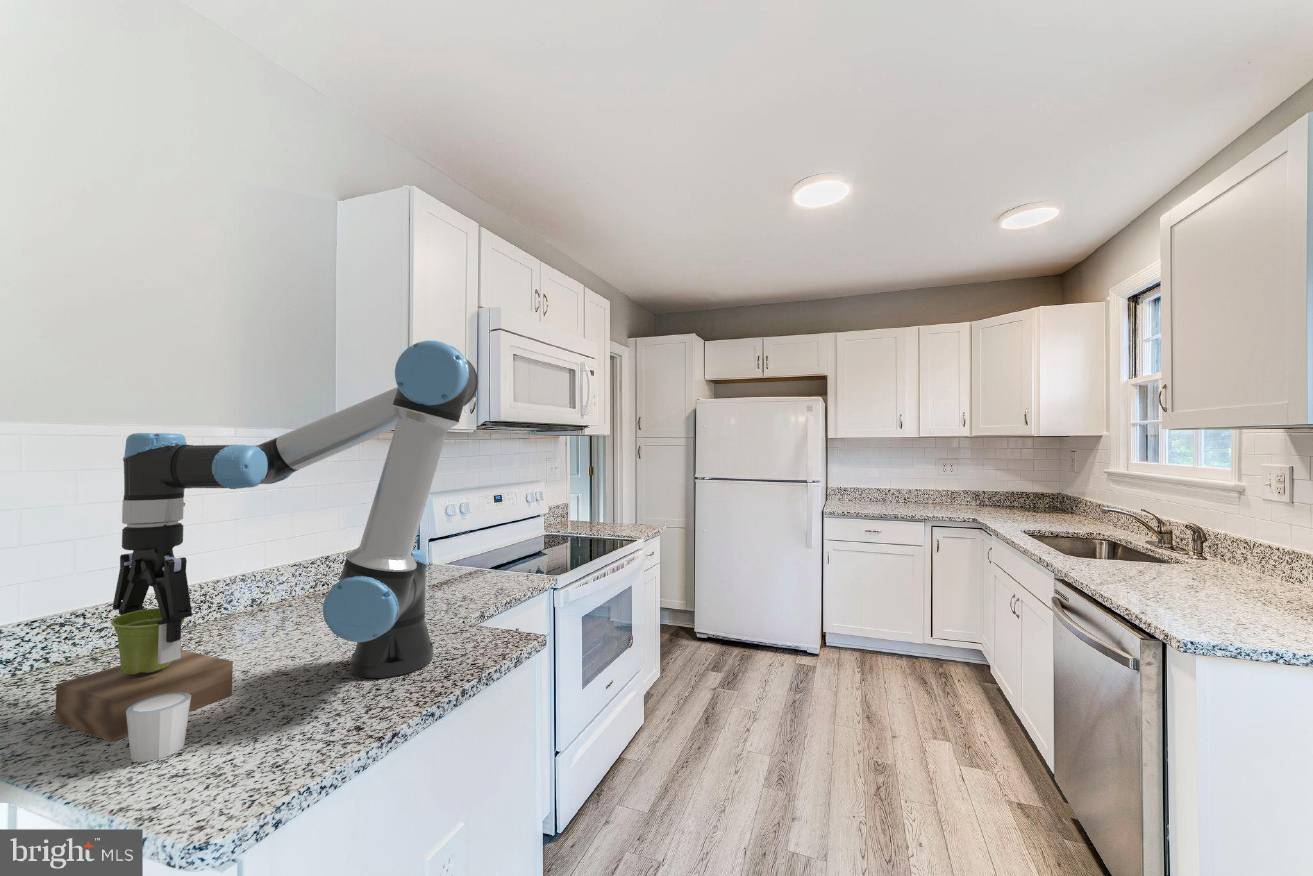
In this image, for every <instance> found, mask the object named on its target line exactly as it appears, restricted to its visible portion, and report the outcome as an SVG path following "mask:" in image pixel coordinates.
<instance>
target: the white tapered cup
mask: <svg viewBox="0 0 1313 876" xmlns="http://www.w3.org/2000/svg"><path fill="white" fill-rule="evenodd" d="M190 701H191V695H190V694H189V693H185V692H176V693H167V694H162V695H157V696H154V697H150V698H147V699H144V700H142V701H139V702H137V703H135V704H133V705H132V706H130V707H129V708H128V709H127V710H126V716H127V726H128V736H127V737H128V743H129V755H130V760H131V759H132V760H133V761H137V762H136V763H143V762H142V761H149V762H151V761H150V760H153V761H157V760H160V759H159V758H161V759H163V758H166V757H169V756H171V755H173V754H175V753H177V752H178V751H180V750H181V749H182V748H184V745H185V742H186V736H187V729H188V728H187V727H188V722H189V721H188V720H189V715H190V712H189V708H190ZM156 759H157V760H156ZM132 760H131V761H132ZM133 761H132V762H133Z"/></svg>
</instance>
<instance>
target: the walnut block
mask: <svg viewBox="0 0 1313 876" xmlns="http://www.w3.org/2000/svg"><path fill="white" fill-rule="evenodd" d="M233 664H234V661H232V660H228V659H224V658H220V657H215V656H212V655H211V656H210V655H206V654H201V653H197V652H192V651H189V650H183V649H181V658H179V659H176V660H173V661H171V663H170V664H169V665H168V666H167V667H165V668H163V669H160V670H157V671H154V672H149V673H146V672H139V673H137V674H133V675H132V674H125V673H123V672H122V671H121V664H120V665H117V666H114V667H111V668H107V669H104V670H103V669H102V670H100V671H97V672H93V673H91V674H90V673H89V674H87V675H83V676H79V677H77V678H74V679H73V678H72V679H70V680H66V681H63V682H59V683H56V686H55V689H56V690H55V717H54V723H57V724H60V725H62V726H64V727H65V726H66V727H68V728H71V729H74V730H77V731H79V732H82V733H86V734H88V735H92V736H95V737H97V736H98V737H97V738H101V739H103V738H105V739H104V740H106V739H107V741H109V740H110V741H109V742H112V743H115V742H117V741H119V739H120V740H121V738H122V739H124V738H127V737H129V736H128V726H127V716H126V710H127V709H128V708H129V707H130V706H132V705H133V704H135V703H137V702H139V701H142V700H144V699H147V698H150V697H154V696H157V695H162V694H167V693H176V692H185V693H189V694H190V695H191V701H190V708H189V713H191V712H193V711H195V710H199V709H200V708H204V707H206V706H208V704H209V705H210V704H213V703H216V702H219V701H221V700H223V699H226V698H225V697H227V698H228V697H229V698H230V697H231V695H232V696H233V672H234V671H233V669H234V667H233V666H234V665H233ZM220 699H221V700H220ZM218 700H219V701H218ZM114 741H115V742H114Z"/></svg>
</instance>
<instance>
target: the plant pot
mask: <svg viewBox="0 0 1313 876" xmlns="http://www.w3.org/2000/svg"><path fill="white" fill-rule="evenodd" d="M161 620H163V619H162V616H161V613H160V609H159V607H154V608H147V609H145V610H139V611H134V612H130V613H126V614H123V615H120V614H119V615H118V616H116V617H114V618H113V619H112V620H111V622H110V624H111V626H112V627H113V628H114V630H115V631H114V632H115V633H116V635H117V641H118V642H117V643H118V650H119V651H118V653H119V662H120V663H119V664H120V665H121V671H122V672H123V673H125V674H132V675H133V674H137V673H139V672H146V673H149V672H154V671H157V670H160V669H163V668H165V667H167V666H168V665H169V664H170V663H171V661H170V662H166V663H163V664H158V639H159V625H158V622H159V621H161ZM184 621H185V618H184V619H182V621H181V626H182V625H183V624H184V623H185V622H184Z"/></svg>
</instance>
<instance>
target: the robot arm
mask: <svg viewBox="0 0 1313 876" xmlns="http://www.w3.org/2000/svg"><path fill="white" fill-rule="evenodd" d="M394 379H395V383H396V387H394V388H392V389H389V390H387V391H384V392H383V393H380V394H378V395H377V394H376V395H375V396H373V397H370V398H368V399H365V400H363V401H361V402H358V403H356V404H353V405H352V406H348V407H346V408H344V409H341V410H339V411H337V412H334V413H332V414H329V415H327V416H324V417H322V418H319V419H318V420H315V421H312V422H310V423H308V424H306V425H303V426H301V427H298V428H296V429H294V430H291V431H289V432H286V433H283V434H282V435H279V436H278V437H274V438H272V439H270V440H268V441H265V442H262V443H260V444H256V445H246V444H209V445H207V444H203V445H202V444H201V445H200V444H198V445H194V444H187V439H186V437H185V435H184V434H182V433H170V432H168V433H166V432H165V433H164V432H159V433H157V432H135V433H131V434H130V435H128V436H127V437H126V439H125V448H124V456H123V458H122V461H123V482H124V483H123V484H124V485H123V486H124V491H123V492H124V494H123V499H122V505H121V506H122V509H121V510H122V511H121V523H122V524H123V525H126V526H125V527H123V528H122V530H121V548H122V549H123V550H126V551H132V552H131V553H125V554H124V553H122V554H121V555H120V556H119V571H118V572H119V573H118V577H117V582H116V587H115V593H114V598H113V603H112V610H113V611H118V614H119V616H120V615H123V614H126V613H130V612H134V611H139V610H145V609H146V607H145V605H143V604H144V601H145V599H146V596H147V594H148V591H149V589H150V587H152V590H153V591H154V592H153V593H154V596H155V599H156V603H157V606H158V608H159V609H160V613H161V616H162V619H163V620H161V621H159V622H158V625H159V639H158V664H163V663H166V662H170V661H173V660H176V659H179V658H181V650H182V625H181V621H182V619H184V620H185V619H186V618H188V617H192V614H193V612H192V605H191V599H190V598H191V597H190V591H189V585H188V584H189V583H188V578H187V563H188V561H187V558H186V556H184V557H179V558H177V557H175V555H174V548H175V547H177V546H181V545H182V543H183V542H184V524H182V523H181V522H179V521H182V520H184V507H185V506H186V502H184V501H185V500H184V499H185V498H184V497H185V490H186V489H230V490H237V489H245V488H248V489H249V488H250V489H251V488H255V487H258V486H259V485H270V484H271V485H272V484H276V483H279V482H282V481H284V480H286V479H288V478H289V477H290V476H291V475H292V474H294V473H295V472H298V471H300V470H301V469H304V468H306V467H309V466H312V465H313V464H315V463H318V462H321V461H322V460H325V459H327V458H330V457H332V456H334V455H337V454H340V453H341V452H344V451H346V450H348V449H350V448H353V447H356V446H358V445H360V444H363V443H366V442H367V441H370V440H372V439H374V438H376V437H379V436H381V435H383V434H386V433H388V432H391V431H393V430H394V431H393V434H392V438H391V441H390V443H389V444H390V445H389V446H388V447H389V448H388V450H387V451H388V452H387V454H386V458H385V461H384V465H383V467H382V471H381V475H380V478H379V481H378V483H377V487H376V490H375V491H376V492H375V494H374V497H373V500H372V504H371V507H370V509H369V510H370V511H369V514H368V517H367V521H366V524H365V527H364V531H363V533H362V534H363V535H362V537H361V540H360V543H359V546H358V547H357V548H355V549H353V550H351V551H350V552H348V553H347V554H346V557H345V561H344V564H343V567H342V571H341V573H340V576H339V580H338V582H336V583H335V584H333V586H332V587H331V589H329V591H328V592H327V594H326V596H325V597H324V600H323V604H322V616H323V619H324V622H325V625H326V626H327V627H328V628H329V630H331V633H332V634H334V635H335V636H337V637H338V638H340V639H342V640H345V641H348V642H352V643H353V642H354V643H356V644H355V645H356V646H355V650H354V651H353V653H352V656H350V657H351V658H350V672H351V674H352V675H354V676H357V677H360V678H366V679H381V678H382V679H383V678H390V677H396V676H401V675H405V674H408V673H409V674H410V673H412V672H414V671H418V670H420V669H422V668H424V667H426V666H427V665H429V664H430V663H431V662H432V661H433V659H434V644H433V642H432V641H431V637H430V634H429V630H428V627H427V624H426V617H425V615H426V579H427V578H426V575H427V570H426V568H427V561H426V554H425V552H424V551H423V550H421V549H413V548H414V545H415V541H416V538H417V534H418V531H419V528H420V524H421V523H422V522H421V521H422V517H423V515H424V512H425V508H426V504H427V501H428V497H429V495H430V490H431V487H432V484H433V480H434V477H435V474H436V470H437V467H438V463H439V460H440V456H441V454H442V449H443V446H444V443H445V440H446V436H447V433H448V431H449V430H450V429H452V428H453V427H456V426H457V425H459V424H460V423H459V422H460V419H461V416H462V413H463V409H464V407H465V406H467V404H470V402H471V401H472V400H473V399H474V397H475V396H476V394H477V391H478V388H479V376H478V374H477V371H476V368H475V367H474V365H473V364H472V363H471V361H469V360H468V359H467V358H466V357H465V356H464V355H463V353H462V352H461V351H460V350H459V349H457V348H456V347H454V346H452V345H450V344H447V343H445V342H442V341H438V340H423V341H419V342H416V343H414V344H412V345H410V346H408V347H406V348H405V350H404V351H402V353H401V354H400V355H399V357H398V359H397V361H396V364H395V368H394Z"/></svg>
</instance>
